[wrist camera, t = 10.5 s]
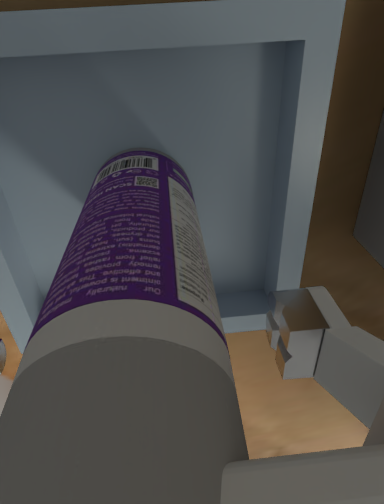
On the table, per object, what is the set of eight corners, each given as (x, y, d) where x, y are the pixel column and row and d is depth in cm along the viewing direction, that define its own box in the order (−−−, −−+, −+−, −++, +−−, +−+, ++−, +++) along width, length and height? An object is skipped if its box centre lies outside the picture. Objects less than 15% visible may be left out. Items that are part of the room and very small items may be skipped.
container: (82, 221, 17) (-133, 788, 4) (107, 130, 15) (-183, 754, 2) (171, 248, 18) (206, 743, 6) (207, 168, 16) (400, 692, 3)
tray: (277, 292, 22) (292, 326, 19) (37, 314, 21) (21, 353, 19) (311, -1, 14) (347, -7, 11) (-81, 20, 13) (-139, 19, 10)
